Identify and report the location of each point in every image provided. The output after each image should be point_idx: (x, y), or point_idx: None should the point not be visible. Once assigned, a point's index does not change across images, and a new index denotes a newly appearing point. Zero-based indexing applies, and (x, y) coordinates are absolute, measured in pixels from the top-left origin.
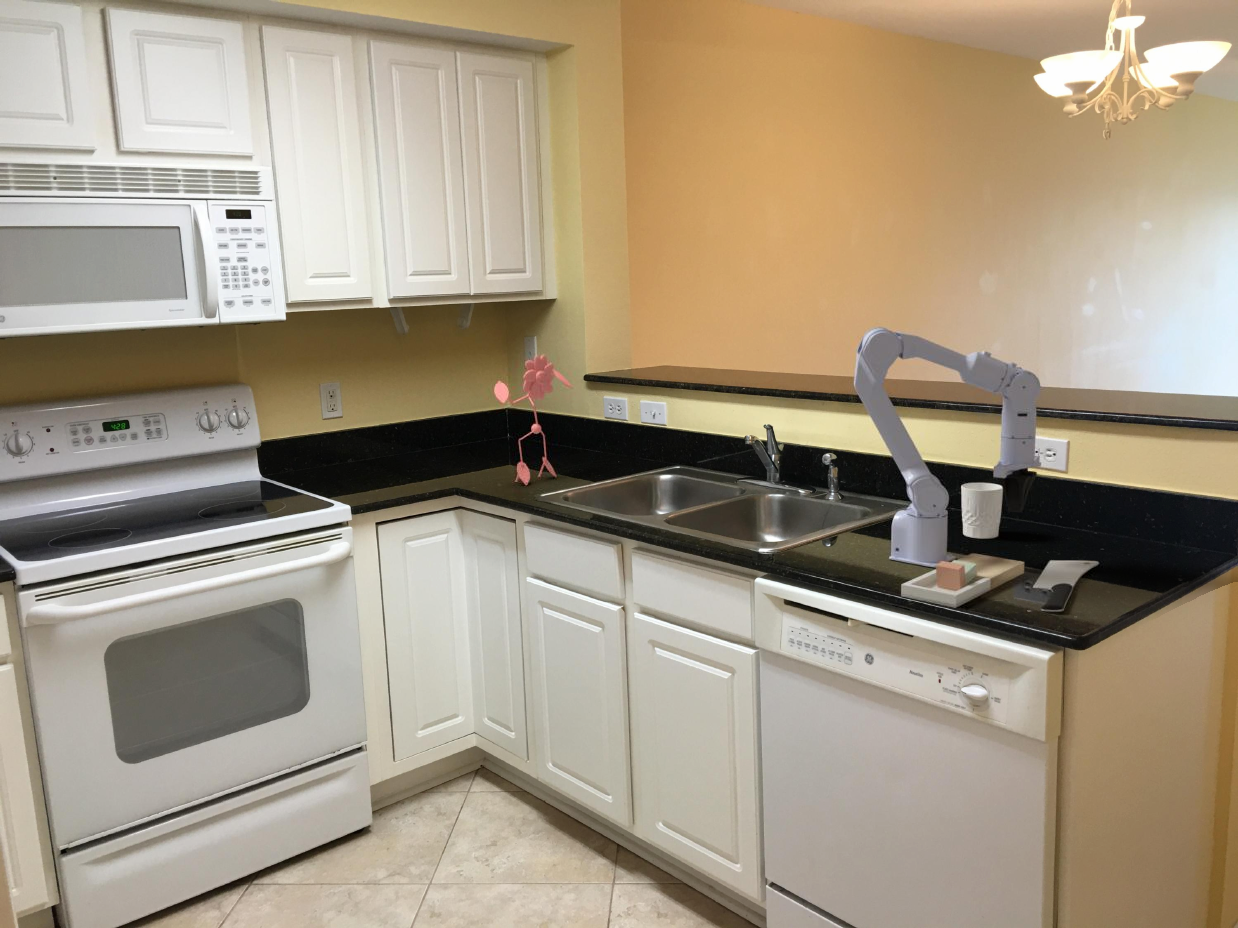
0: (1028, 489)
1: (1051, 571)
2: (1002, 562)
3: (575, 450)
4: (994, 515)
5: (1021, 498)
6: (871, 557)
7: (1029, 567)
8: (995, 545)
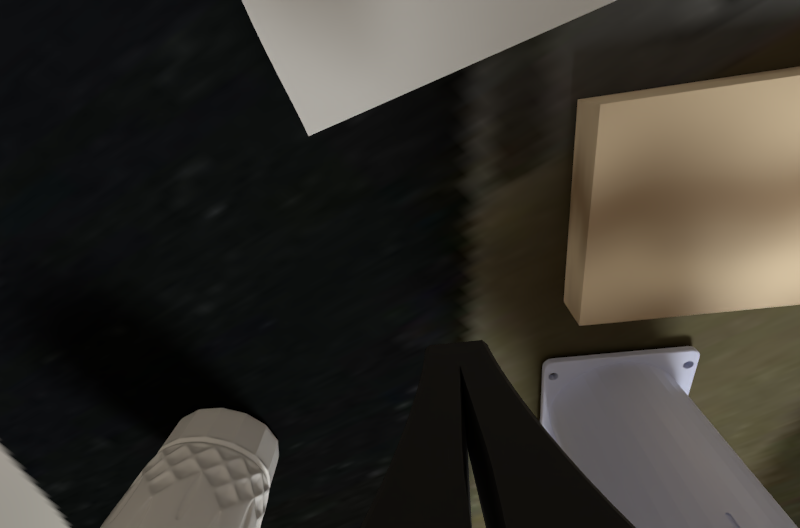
0: (403, 512)
1: (486, 11)
2: (663, 173)
3: None
4: (192, 478)
5: (540, 425)
6: None
7: (472, 135)
8: (293, 365)
